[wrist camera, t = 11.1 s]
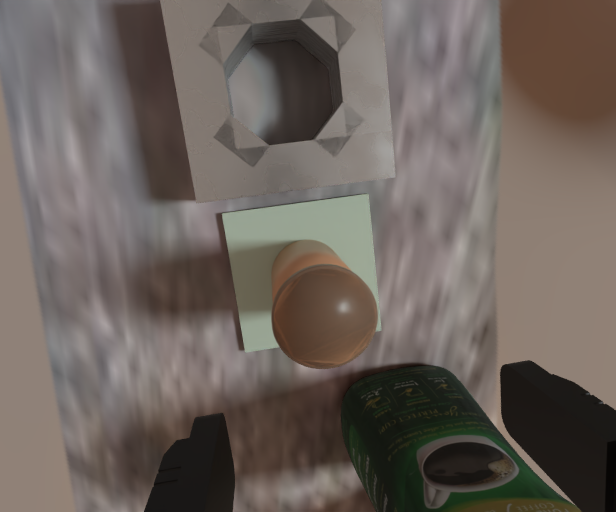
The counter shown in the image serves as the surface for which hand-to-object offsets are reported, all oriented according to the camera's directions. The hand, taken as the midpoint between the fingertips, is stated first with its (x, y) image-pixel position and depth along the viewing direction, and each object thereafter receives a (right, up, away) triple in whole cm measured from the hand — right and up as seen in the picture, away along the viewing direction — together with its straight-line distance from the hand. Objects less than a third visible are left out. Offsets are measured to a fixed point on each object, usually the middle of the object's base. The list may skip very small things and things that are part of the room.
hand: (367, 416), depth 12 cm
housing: (-3, +15, +15) cm, 22 cm away
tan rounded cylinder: (-2, +3, +17) cm, 17 cm away
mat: (-2, +3, +17) cm, 18 cm away
